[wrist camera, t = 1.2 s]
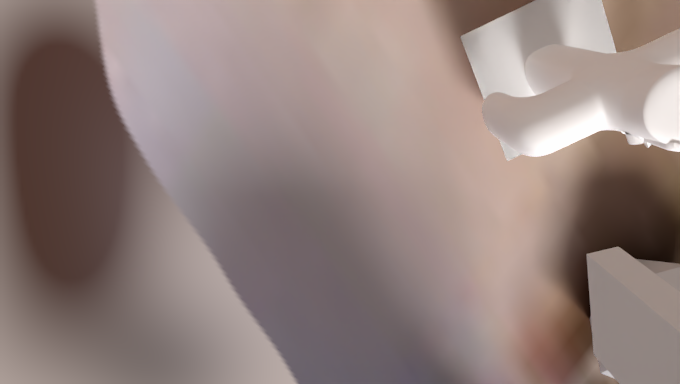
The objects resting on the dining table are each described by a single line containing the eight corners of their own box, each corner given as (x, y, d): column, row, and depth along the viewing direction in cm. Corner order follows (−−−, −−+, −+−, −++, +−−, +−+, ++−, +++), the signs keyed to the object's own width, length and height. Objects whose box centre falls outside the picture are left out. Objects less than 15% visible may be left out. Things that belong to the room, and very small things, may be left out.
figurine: (423, 40, 34) (528, 76, 20) (578, -35, 33) (801, -53, 19) (468, 152, 36) (591, 257, 22) (614, 84, 36) (835, 146, 21)
